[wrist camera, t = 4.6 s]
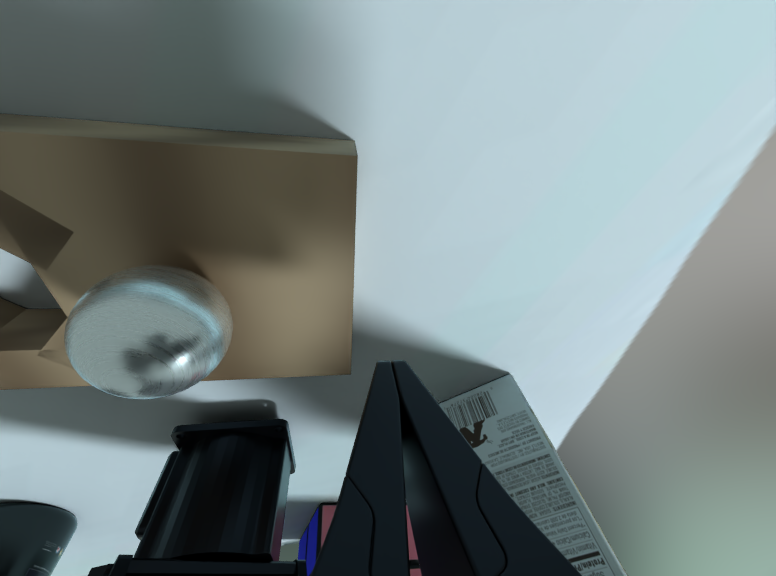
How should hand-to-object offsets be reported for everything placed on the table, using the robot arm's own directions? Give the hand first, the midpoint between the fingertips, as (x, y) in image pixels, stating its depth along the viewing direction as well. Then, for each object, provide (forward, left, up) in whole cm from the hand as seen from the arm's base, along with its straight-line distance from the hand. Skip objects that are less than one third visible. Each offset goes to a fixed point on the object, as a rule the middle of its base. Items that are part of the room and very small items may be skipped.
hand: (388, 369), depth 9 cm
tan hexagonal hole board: (+10, 0, -6) cm, 12 cm away
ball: (+7, 0, -4) cm, 8 cm away
